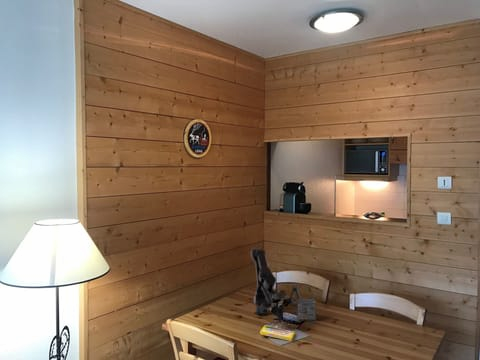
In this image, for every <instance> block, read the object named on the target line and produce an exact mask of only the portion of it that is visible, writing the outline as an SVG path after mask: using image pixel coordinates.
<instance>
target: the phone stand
mask: <svg viewBox="0 0 480 360" xmlns="http://www.w3.org/2000/svg"><path fill="white" fill-rule="evenodd" d="M291 288H292V290H291V293H290V296H289V298H291V300H292V302H291V303H290V304H289V305H288V306H290V305H291V306H292V305H293V306H297V299H303V297H302V294H301V292H300V289H299V288H300V287H299V284H298V283H294V284H293V285H292V287H291ZM294 295H295V296H296V301H295V300H293V299H294Z"/></svg>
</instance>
